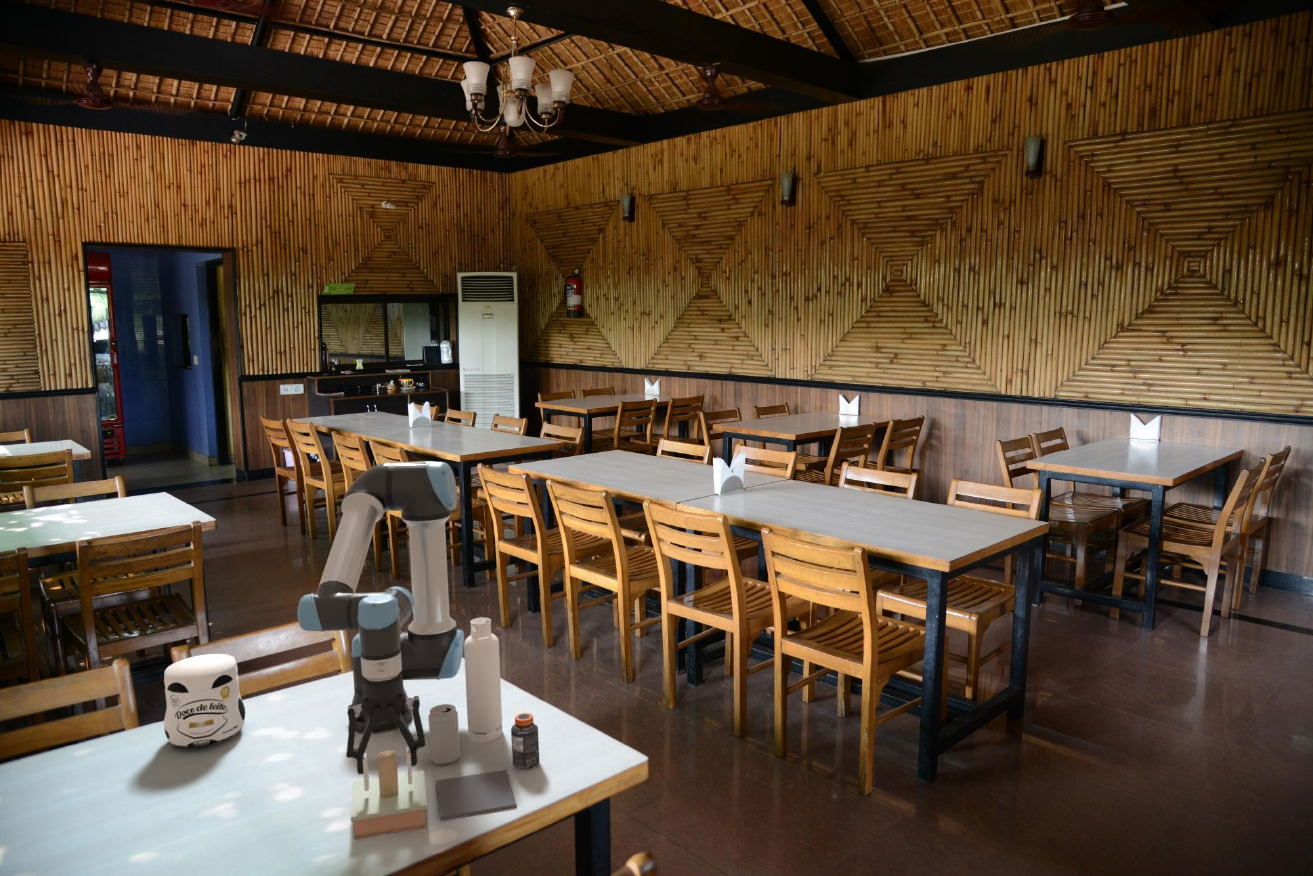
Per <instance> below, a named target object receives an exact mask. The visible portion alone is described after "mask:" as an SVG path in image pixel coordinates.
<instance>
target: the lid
mask: <svg viewBox="0 0 1313 876" xmlns="http://www.w3.org/2000/svg"><path fill="white" fill-rule="evenodd" d="M397 759H398V758H397V752H396V751H394V750H385V751H381V752H379V753H378V754H377V769H378V770H377V771H378V773H377V774H378V777H373V778H369V791H365V788H364V779H361V780H354V781H353V782H352V794H351V796H352V797H351V798H352V799H351V810H350V811H351V812H350V822H354V821H357V820H363V819H369V818H375V817H380V816H386V815H392V814H398V813H404V812H410V811H416V810H422V809H424V810H427V809H428V801H427V791H426V779H425V771H424V770H419V771H412V784H408V772H406V773H399V774H398V760H397Z"/></svg>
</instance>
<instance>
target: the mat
mask: <svg viewBox="0 0 1313 876" xmlns="http://www.w3.org/2000/svg"><path fill="white" fill-rule="evenodd" d="M435 781H436V790H437V791H436V792H437V798H438V799H437V800H438V807H439V809H438V810H439V817H440V821H444V820H448V819H449V820H450V819H454V818H461V817H468V816H472V815H478V814H484V813H491V812H496V811H501V810H502V811H503V810H508V809H513V808H517V806H518V805H517V801H516V797H515V795H514V794H515V793H514V790H513V787H512V783H511V780H510V776H509V773H508V769H500V770H493V771H488V772H487V771H486V772H480V773H474V774H466V775H462V776H455V777H450V778H444V779H437V780H435Z"/></svg>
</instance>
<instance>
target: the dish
mask: <svg viewBox="0 0 1313 876" xmlns="http://www.w3.org/2000/svg"><path fill="white" fill-rule="evenodd" d="M425 813H426V812H425V809H422V810H416V811H410V812H404V813H398V814H392V815H386V816H380V817H375V818H369V819H363V820H357V821H353V826H354V839H355V840H358V839H364V838H370V837H375V836H382V835H387V834H391V833H399V832H404V831H410V830H415V829H421V828H426V815H425Z"/></svg>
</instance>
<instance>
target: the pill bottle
mask: <svg viewBox="0 0 1313 876" xmlns="http://www.w3.org/2000/svg"><path fill="white" fill-rule="evenodd" d="M510 734H511V737H510V738H511V755H512V756H511V760H512V766H513V768H514V769H516V770H520V771H528V770H532V769H535V768H536V767H537V766H538V765H539V764H540V748H539V747H540V746H539V743H540V740H539V728H538V724H537V723H535V722H534V715H533V713H529V712H521V713H519V714H516V715H515V717H514V724H512V725H511V728H510Z"/></svg>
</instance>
